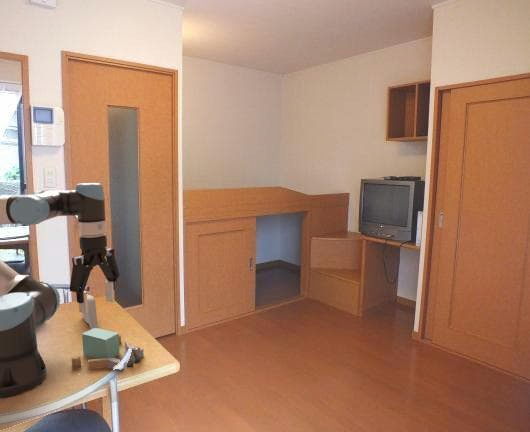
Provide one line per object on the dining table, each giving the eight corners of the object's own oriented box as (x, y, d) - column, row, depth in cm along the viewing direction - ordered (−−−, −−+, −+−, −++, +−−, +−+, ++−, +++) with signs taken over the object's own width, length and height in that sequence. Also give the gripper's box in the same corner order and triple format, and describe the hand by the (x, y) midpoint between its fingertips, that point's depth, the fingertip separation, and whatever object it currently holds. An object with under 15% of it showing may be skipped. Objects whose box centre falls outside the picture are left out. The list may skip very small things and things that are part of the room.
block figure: (108, 378, 109) (108, 370, 109) (70, 366, 115) (69, 359, 115) (153, 349, 126) (152, 342, 125) (117, 340, 132) (117, 334, 131)
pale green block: (107, 361, 118) (105, 339, 117) (83, 355, 122) (82, 333, 122) (119, 354, 123) (118, 333, 122) (96, 348, 127) (95, 327, 126)
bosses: (130, 368, 114) (129, 355, 114) (125, 366, 115) (124, 354, 115) (142, 360, 119) (141, 348, 118) (137, 359, 120) (136, 346, 119)
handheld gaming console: (89, 320, 154) (98, 328, 142) (81, 322, 152) (90, 330, 140) (86, 292, 153) (95, 297, 141) (78, 293, 152) (87, 299, 140)
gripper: (69, 243, 106) (75, 322, 109) (129, 230, 126) (132, 297, 129) (50, 240, 109) (56, 317, 112) (111, 228, 129) (115, 294, 132)
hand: (97, 306), depth 120 cm, fingers open, 9 cm apart
